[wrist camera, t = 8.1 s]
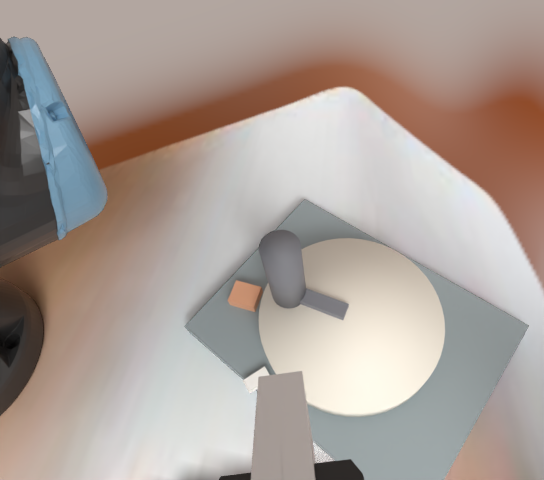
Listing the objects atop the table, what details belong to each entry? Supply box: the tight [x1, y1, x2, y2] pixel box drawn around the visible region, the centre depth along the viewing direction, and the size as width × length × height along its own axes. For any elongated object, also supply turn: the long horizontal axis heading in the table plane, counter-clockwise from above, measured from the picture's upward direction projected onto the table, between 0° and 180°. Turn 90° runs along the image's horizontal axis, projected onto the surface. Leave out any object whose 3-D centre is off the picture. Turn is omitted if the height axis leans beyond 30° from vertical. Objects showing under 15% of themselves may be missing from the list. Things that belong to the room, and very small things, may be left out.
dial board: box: [185, 199, 529, 480], centre depth 33 cm, size 22×18×2 cm
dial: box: [258, 230, 445, 417], centre depth 29 cm, size 14×14×9 cm
